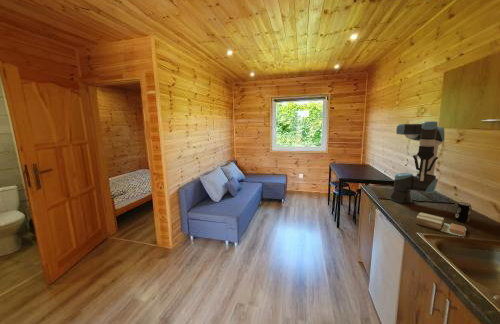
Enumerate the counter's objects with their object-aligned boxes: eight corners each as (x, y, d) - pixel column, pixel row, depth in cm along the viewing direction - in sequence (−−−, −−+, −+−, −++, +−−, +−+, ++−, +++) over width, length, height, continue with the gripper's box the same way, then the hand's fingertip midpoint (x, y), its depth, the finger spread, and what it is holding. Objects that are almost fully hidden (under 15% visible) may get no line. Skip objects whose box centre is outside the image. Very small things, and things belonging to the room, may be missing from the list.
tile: (465, 226, 124) (464, 229, 124) (451, 223, 128) (450, 226, 128) (463, 232, 118) (463, 235, 118) (449, 228, 122) (449, 231, 123)
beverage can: (451, 218, 140) (454, 201, 137) (463, 218, 138) (466, 202, 136) (459, 222, 133) (463, 205, 131) (471, 223, 132) (475, 205, 130)
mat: (444, 223, 133) (444, 222, 133) (466, 229, 125) (466, 228, 125) (440, 231, 124) (440, 230, 124) (464, 237, 116) (464, 237, 116)
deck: (419, 217, 141) (420, 212, 141) (442, 223, 132) (443, 217, 132) (415, 223, 134) (416, 217, 133) (440, 230, 125) (441, 224, 124)
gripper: (412, 145, 135) (408, 179, 140) (439, 147, 125) (434, 183, 130) (415, 144, 140) (410, 177, 145) (440, 145, 130) (435, 180, 135)
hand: (421, 180), depth 138 cm, fingers closed
